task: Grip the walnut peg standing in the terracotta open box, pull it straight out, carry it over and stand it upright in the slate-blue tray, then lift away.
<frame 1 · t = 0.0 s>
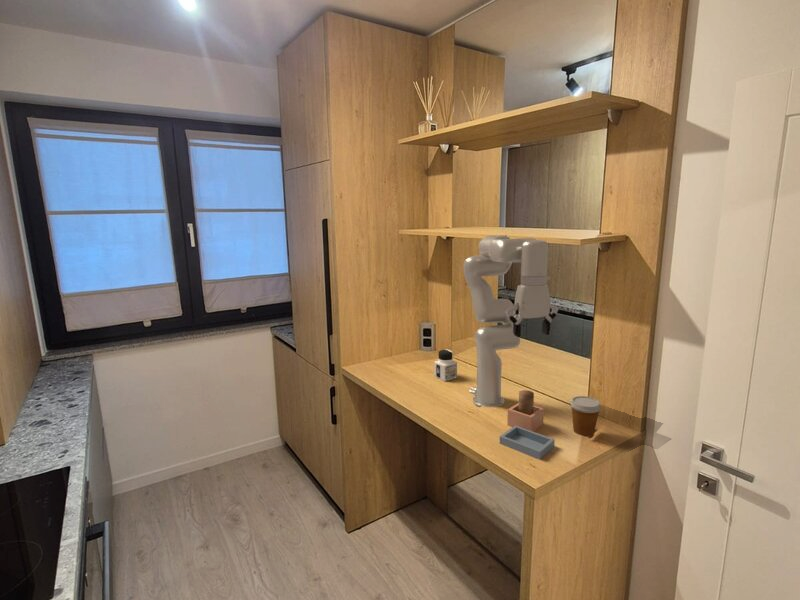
hand: (531, 334, 135), 37 cm above the worktop, tool pointing down, fingers open, 9 cm apart
terracotta open box: (525, 427, 153), on the worktop
container: (445, 377, 201), on the worktop
disposable coffee cup: (583, 434, 147), on the worktop
tray: (526, 447, 139), on the worktop
peg: (525, 424, 152), point 1 cm above the worktop, touching terracotta open box
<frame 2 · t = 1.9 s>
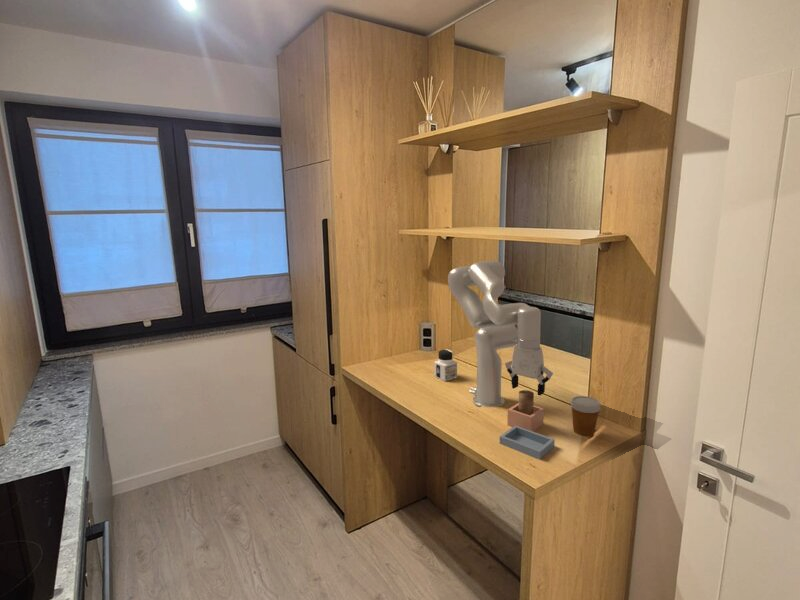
hand: (527, 390, 149), 14 cm above the worktop, tool pointing down, fingers open, 9 cm apart
nothing on the worktop moved.
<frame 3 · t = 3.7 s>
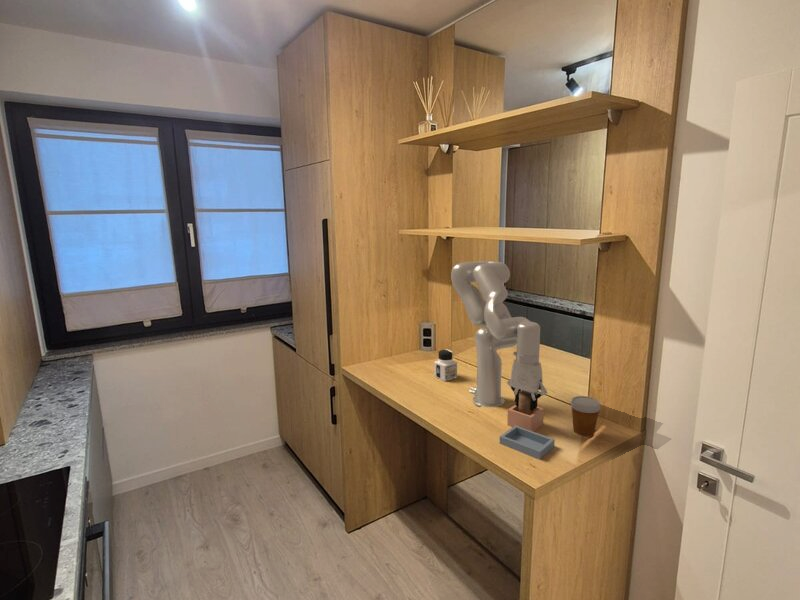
hand: (525, 406, 151), 8 cm above the worktop, tool pointing down, fingers closed on peg, 5 cm apart
peg: (525, 424, 152), point 1 cm above the worktop, touching terracotta open box, gripper
everything else where it was.
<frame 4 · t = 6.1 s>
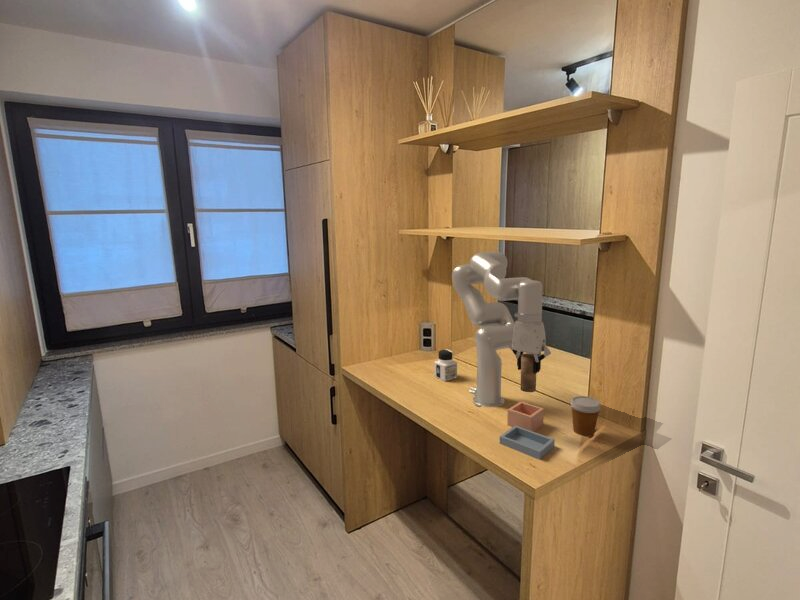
hand: (528, 370, 145), 23 cm above the worktop, tool pointing down, fingers closed on peg, 5 cm apart
peg: (528, 389, 146), point 16 cm above the worktop, touching gripper
everything else where it was.
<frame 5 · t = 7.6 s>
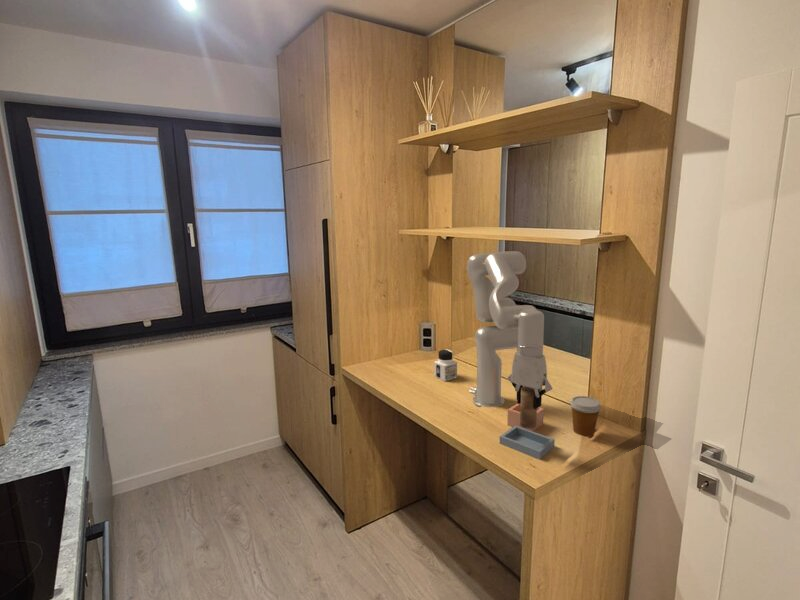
hand: (528, 404, 136), 15 cm above the worktop, tool pointing down, fingers closed on peg, 5 cm apart
peg: (528, 424, 137), point 8 cm above the worktop, touching gripper
everything else where it was.
when the fingers open (9 cm above the worktop, at t = 8.9 s): peg stays where it is, resting on tray.
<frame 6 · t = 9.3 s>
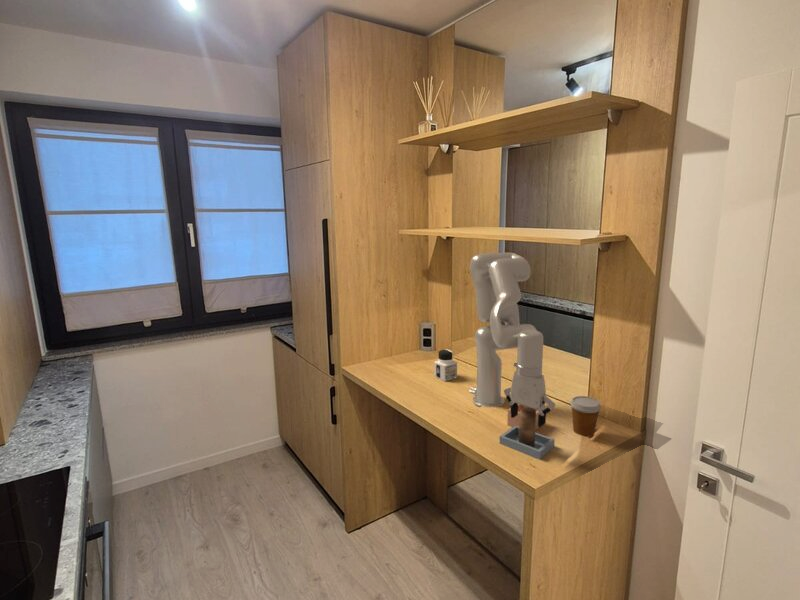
hand: (527, 420, 138), 9 cm above the worktop, tool pointing down, fingers open, 9 cm apart
peg: (526, 444, 139), point 1 cm above the worktop, touching tray
everything else where it was.
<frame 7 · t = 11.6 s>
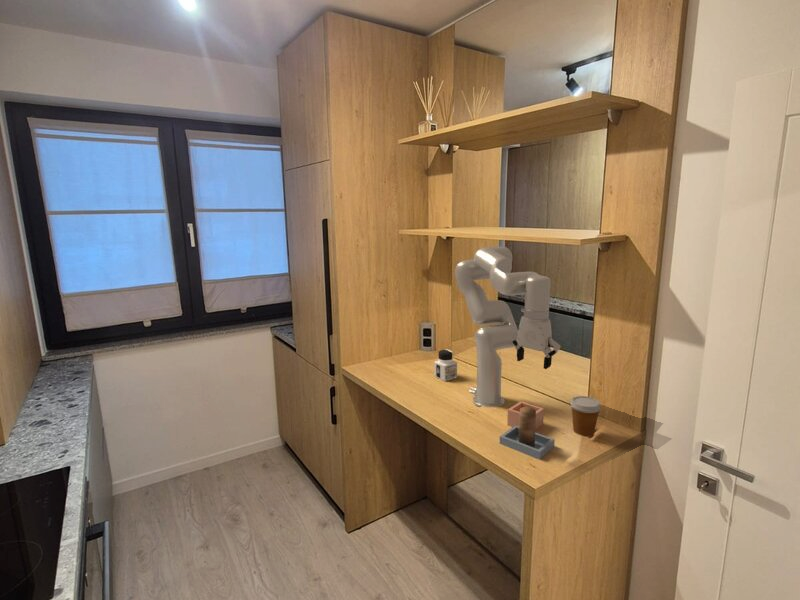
hand: (533, 363, 142), 26 cm above the worktop, tool pointing down, fingers open, 9 cm apart
nothing on the worktop moved.
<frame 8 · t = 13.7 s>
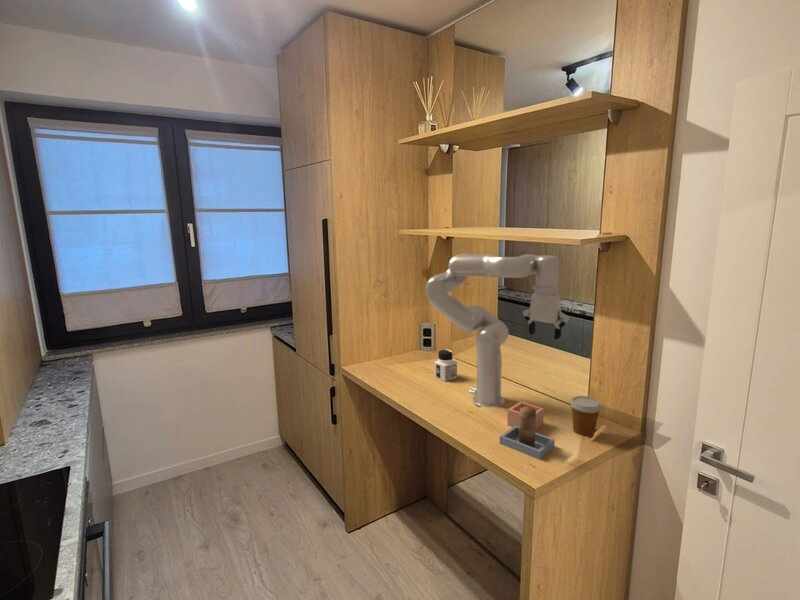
hand: (544, 336, 157), 30 cm above the worktop, tool pointing down, fingers open, 9 cm apart
nothing on the worktop moved.
at the end: peg inside the target area on the tray (0.1 cm from its centre), point 1.0 cm above the tray's base; peg tilted 0°; the gripper is holding nothing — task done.
